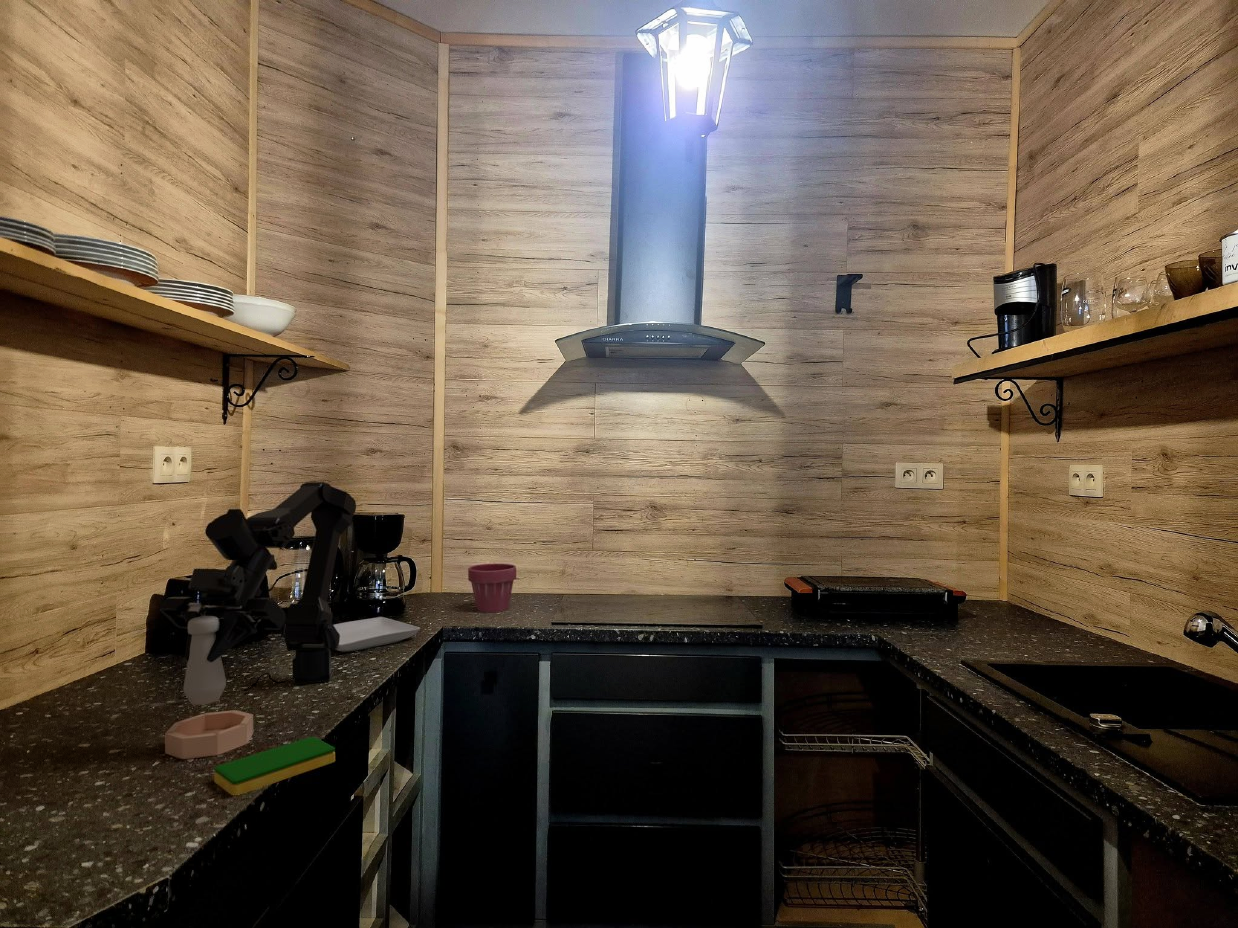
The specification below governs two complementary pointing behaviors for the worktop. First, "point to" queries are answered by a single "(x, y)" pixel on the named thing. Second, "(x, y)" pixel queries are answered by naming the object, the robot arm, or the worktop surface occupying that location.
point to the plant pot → (492, 586)
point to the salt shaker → (203, 663)
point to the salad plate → (372, 633)
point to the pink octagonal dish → (209, 734)
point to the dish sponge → (273, 765)
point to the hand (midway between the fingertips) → (198, 660)
